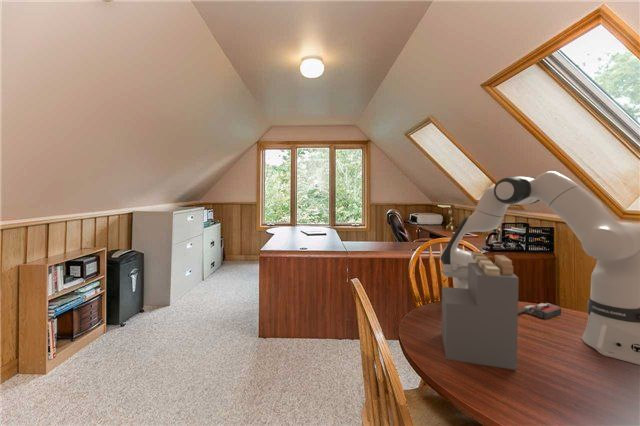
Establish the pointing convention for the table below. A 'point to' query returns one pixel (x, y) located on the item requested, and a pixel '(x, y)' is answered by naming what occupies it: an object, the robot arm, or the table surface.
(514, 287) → the grey stepped block
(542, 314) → the walkie-talkie
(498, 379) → the table surface
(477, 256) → the birch strip
